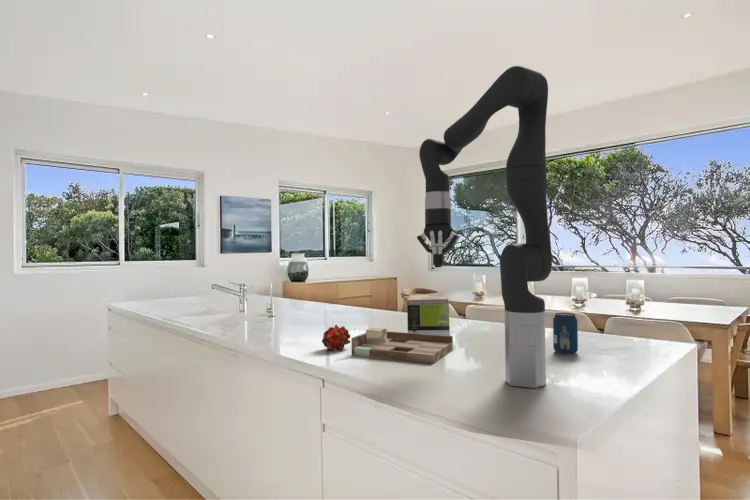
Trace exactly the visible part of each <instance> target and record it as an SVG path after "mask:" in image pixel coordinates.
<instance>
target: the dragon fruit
mask: <svg viewBox="0 0 750 500" xmlns="http://www.w3.org/2000/svg"><path fill="white" fill-rule="evenodd" d="M322 336H323V337H322V340H321V343H322V344H323V346H324V347H326V348H327V349H326V351H327V352H333V351H335V350H337V349H338V350H339V351H342V350H343V349H344V348H345V345H349V344H350V343H351V340H349V339H351V334H350V333H349V330H348V328H346V327H345V326H344V325H342V326H341V327H339V326H338V325H337V324H335V325H334V327H333V326H331V327H329V328H328V329H327V330H326V331H324V333H323V335H322Z"/></svg>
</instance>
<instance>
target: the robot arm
mask: <svg viewBox="0 0 750 500" xmlns="http://www.w3.org/2000/svg"><path fill="white" fill-rule="evenodd" d="M548 85H549V84H548V80H547V78H546V76H545V75H544V74H543V73H541V72H540V71H538V70H535V69H533V68H529V67H527V66H523V65H513V66H510V67H508V68H507V69H506V70H505V71H503V73H501V75H499V76H498V78H497V79H496V80H495V81H494V82H493V83H492V84H491V85H490V87H488V89H487V90H486V91H485V92H484V93H483V95H482V96H481V97H480V98H479V99H478V100H477V102H476V103H475V104H473V106H472V107H471V108H470V109H469V110H467V112H466V113H464V114H463V115H462V116H460V118H459V119H457V120H456V121H455V122H453V124H451V125H450V126H449V127H448V128H446V129H445V131H444V133H443V140H440V139H435V138H426V139H425V140H424V141H422V143H421V145H420V147H419V152H418V153H419V155H418V156H419V161H420V164H421V167H422V168H421V169H422V173H423V175H424V179H425V197H424V225H425V227H424V229H423V232H422V233H421V234H420V235H417V236H416V239H417V241H418V242H419V243H420V244H421V246H422V247H423V248H424V250H425V251H426V252H427V253H430V254H432V264H433V266H434V268H442V267H443V266H444V265H445V261H444V260H445V259H444V255H445V254H446V253H450V252H451V250H452V249H453V247H455V245H456V243H457V242H458V241H459V240H460V235H459V234H457V233H455V232H454V231H453V228H452V211H451V210H452V201H451V194H450V191H451V188H450V176H449V174H448V173H447V172H445V171H443V170H442V169H441V168H440V166H445V165H447V166H448V165H449V164H451V163H453V162H454V161H455V159H456V158H457V157H458V156H459V154H460V153H461V151H462V150H463V149H464V148H465V147H467V146H468V145H469V144H471V143H472V142H474V140H475V141H476V139H477V138H479V137H480V136H481V134H482V133H483V132H484V130H485V128H486V126H487V124H488V122H489V121H490V119H491V117H492V116H493V115H495V114H496V113H497V112H499V111H500V110H503V109H504V108H507V107H508V106H509V107H512V108H514V109H515V108H516V109H517V112H518V132H517V137H516V139H515V141H514V143H513V145H512V147H511V150H510V152H509V153H508V157H507V160H506V164H505V165H506V166H505V167H506V168H505V169H506V171H505V174H506V177H505V178H506V190H507V194H508V197H509V198H510V200H511V202H512V205H513V207H514V208H515V209H516V211H517V213H518V215H519V216H520V218H521V221H522V223H523V227H524V234H525V243H510V244H507V245H506V246H505V247H504V248H503V249H502V251H501V254H500V259H499V272H500V284H501V285H500V287H501V297H502V300H503V301H502V302H503V304H504V358H505V359H504V364H505V366H504V367H505V369H504V370H505V372H504V373H505V382H506V383H507V384H508V385H509V386H512V387H523V388H529V389H530V388H531V389H538V388H539V387H543V386H545V385H547V370H546V369H547V364H546V360H547V359H546V303H545V300H544V298H542V297H541V296H537V295H535V294H533V293H532V292H531V291H530V289H529V284H528V283H529V282H530V283H531V282H532V283H533V282H543V281H545V280H546V279H547V278H549V276H550V274H551V271H552V267H553V266H552V264H553V255H552V252H553V251H552V245H551V237H550V228H549V221H548V203H547V202H548V201H547V179H548V177H547V161H546V160H547V158H546V154H547V153H546V127H547V125H546V124H547V123H546V122H547V110H548V99H549V86H548ZM427 239H428V240H429V242H430V243H429V242H428V241H427ZM448 239H450V241H449V242H447V240H448ZM446 242H447V244H446Z"/></svg>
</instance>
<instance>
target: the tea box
mask: <svg viewBox="0 0 750 500" xmlns="http://www.w3.org/2000/svg"><path fill="white" fill-rule="evenodd" d="M406 299H407V300H406V312H407V313H406V314H407V317H406V318H407V333H417V334H432V335H446V336H451V335H450V332H451V331H450V307H449V306H450V304H449V303H450V302H449V299H448V297H447V296H430V297H429V296H424V297H423V296H422V297H420V296H419V297H407V298H406Z"/></svg>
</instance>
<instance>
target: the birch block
mask: <svg viewBox="0 0 750 500" xmlns="http://www.w3.org/2000/svg"><path fill="white" fill-rule="evenodd" d="M387 330H388V328H387V327H375V326H374V327H373V326H372V327H370V328H366V330H365V333H366V344H374V345H382V344H384V343H386V342H387Z"/></svg>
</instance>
